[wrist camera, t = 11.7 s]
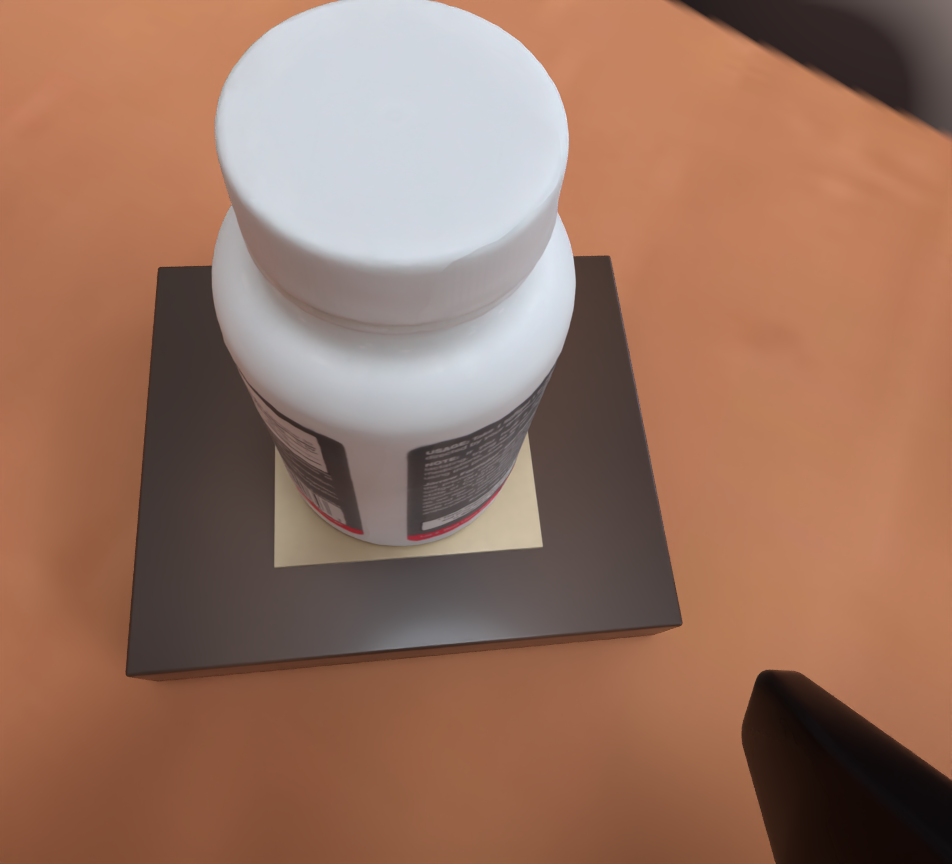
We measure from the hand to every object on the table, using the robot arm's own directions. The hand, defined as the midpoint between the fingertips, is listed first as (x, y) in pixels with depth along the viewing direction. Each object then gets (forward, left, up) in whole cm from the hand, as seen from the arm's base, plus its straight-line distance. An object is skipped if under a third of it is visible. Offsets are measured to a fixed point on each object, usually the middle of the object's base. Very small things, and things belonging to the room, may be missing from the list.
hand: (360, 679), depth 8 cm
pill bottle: (+5, +4, -8) cm, 10 cm away
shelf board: (+5, +4, -10) cm, 11 cm away
